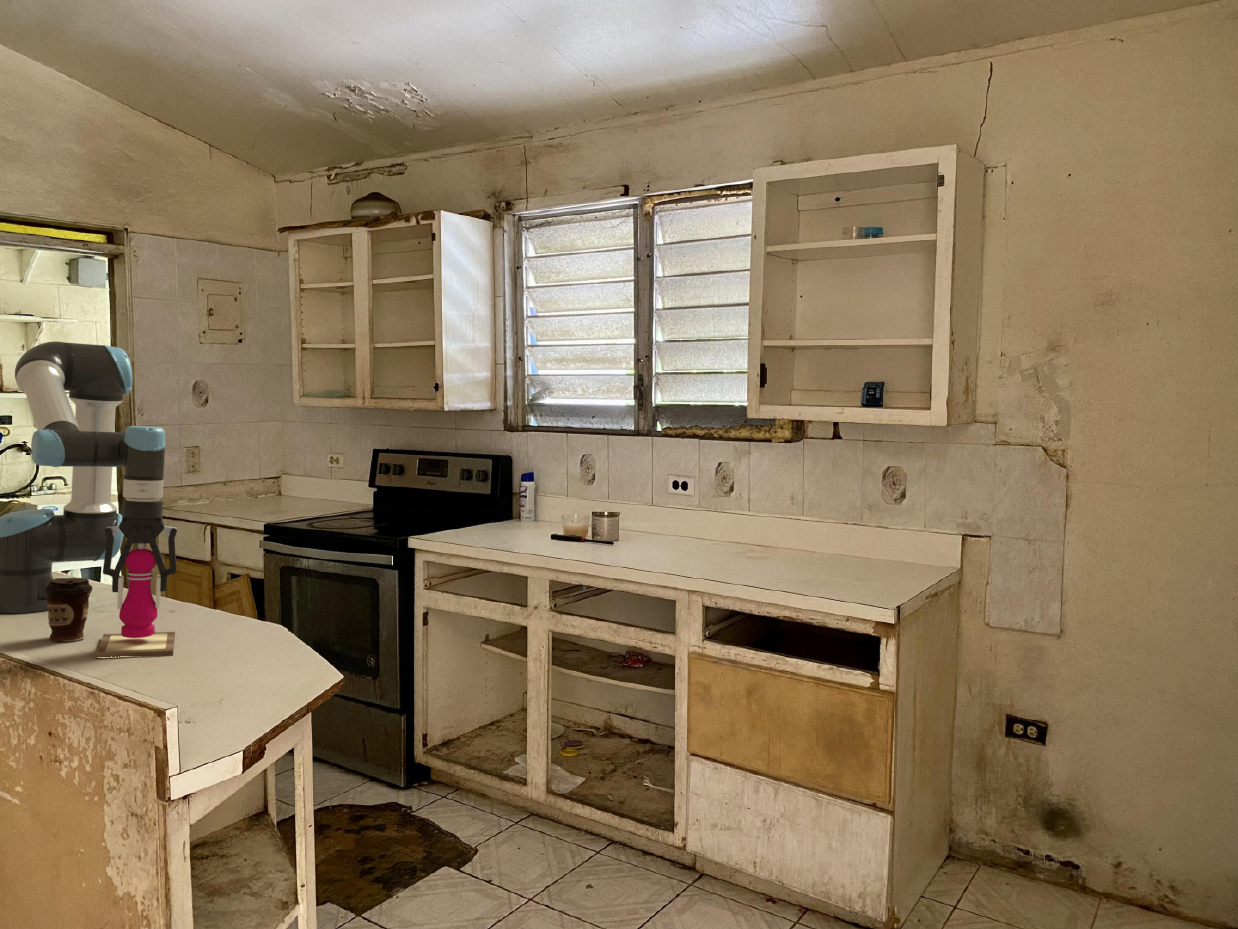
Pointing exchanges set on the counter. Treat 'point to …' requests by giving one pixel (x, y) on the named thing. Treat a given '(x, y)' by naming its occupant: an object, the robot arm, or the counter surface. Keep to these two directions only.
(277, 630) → the counter surface
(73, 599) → the coffee cup
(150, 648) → the clipboard
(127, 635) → the pepper mill
